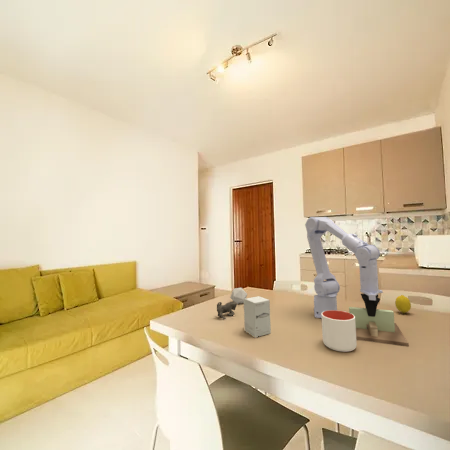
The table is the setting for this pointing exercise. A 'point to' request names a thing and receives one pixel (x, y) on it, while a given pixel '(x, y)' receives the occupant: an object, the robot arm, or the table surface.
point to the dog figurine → (226, 308)
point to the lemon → (403, 304)
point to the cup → (339, 330)
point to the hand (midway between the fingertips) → (371, 315)
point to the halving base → (381, 335)
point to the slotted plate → (374, 319)
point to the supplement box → (257, 316)
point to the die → (238, 295)
